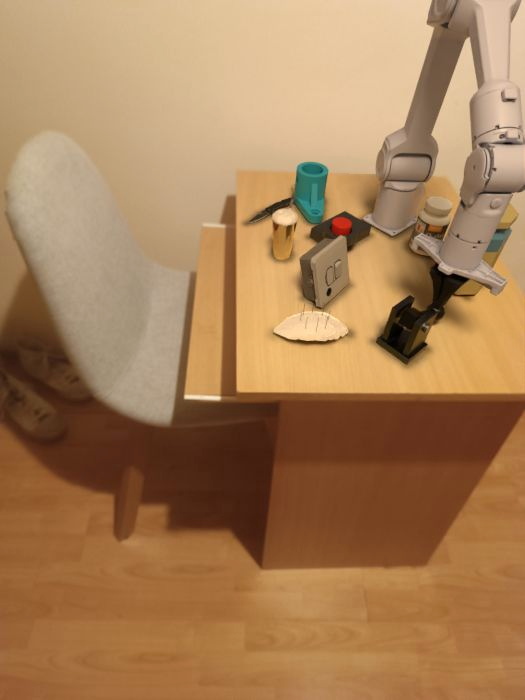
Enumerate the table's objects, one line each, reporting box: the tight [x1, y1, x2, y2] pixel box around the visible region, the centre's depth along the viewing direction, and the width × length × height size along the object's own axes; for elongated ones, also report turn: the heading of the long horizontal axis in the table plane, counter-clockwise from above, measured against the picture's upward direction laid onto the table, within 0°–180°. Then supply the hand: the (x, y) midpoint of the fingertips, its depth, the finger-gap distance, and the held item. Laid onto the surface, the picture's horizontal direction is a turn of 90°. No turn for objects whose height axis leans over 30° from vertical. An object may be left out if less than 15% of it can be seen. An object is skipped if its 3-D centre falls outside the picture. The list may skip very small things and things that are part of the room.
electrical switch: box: [298, 235, 350, 309], centre depth 78 cm, size 9×5×9 cm, turn 141°
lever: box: [398, 302, 446, 331], centre depth 72 cm, size 12×3×3 cm, turn 132°
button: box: [331, 217, 352, 236], centre depth 87 cm, size 4×4×2 cm
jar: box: [453, 202, 520, 295], centre depth 79 cm, size 9×9×15 cm
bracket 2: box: [375, 294, 438, 365], centre depth 70 cm, size 5×6×8 cm
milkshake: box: [271, 198, 299, 261], centre depth 84 cm, size 4×5×10 cm
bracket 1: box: [293, 161, 329, 224], centre depth 96 cm, size 6×12×7 cm, turn 6°
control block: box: [309, 210, 372, 249], centre depth 90 cm, size 11×9×4 cm
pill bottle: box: [409, 195, 454, 257], centre depth 87 cm, size 6×6×10 cm
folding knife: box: [247, 197, 295, 224], centre depth 97 cm, size 13×1×2 cm
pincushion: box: [273, 298, 350, 342], centre depth 72 cm, size 12×6×6 cm, turn 93°
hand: (438, 304), depth 74 cm, fingers closed, pressing on lever
